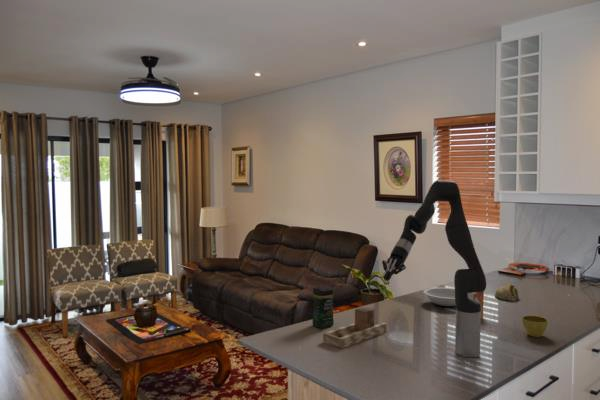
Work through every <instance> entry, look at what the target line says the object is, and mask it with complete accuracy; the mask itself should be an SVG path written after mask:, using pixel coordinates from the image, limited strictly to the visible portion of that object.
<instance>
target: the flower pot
mask: <svg viewBox="0 0 600 400" xmlns="http://www.w3.org/2000/svg"><path fill="white" fill-rule="evenodd" d="M521 319H522V324H523V326H524V327H523V328H524V329H525V332H526V333H527V335H528V336H530V337H534V338H540V337H542V336H543V335H544V333H545V332H546V329H547V326H548V322H549V320H548V319H547V318H545V317H543V316H542V317H541V316H536V315H524V316H522V317H521Z"/></svg>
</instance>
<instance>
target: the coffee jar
mask: <svg viewBox="0 0 600 400" xmlns="http://www.w3.org/2000/svg"><path fill="white" fill-rule="evenodd" d="M312 291H313V292H312V297H313V311H312V312H313V313H312V326H314V327H315V328H319V329H322V328H329V327H332V326H334V320H335V319H334V309H333V299H334V295H335V293H334V292H335V290H334V287H333V286H331V285H329V284H328V285H327V284H325V285H321V286H315V287H314V288H313V290H312Z"/></svg>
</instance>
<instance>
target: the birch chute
mask: <svg viewBox="0 0 600 400" xmlns="http://www.w3.org/2000/svg"><path fill="white" fill-rule="evenodd" d="M385 333H387V323H386V322H381V323H378V324H374V326H372V327H369V328H367V329H364V330H361V331H358V332H357V331H355V322H353V323H351V324H347V325H344V326H341V327H338V328H335V329H333V330H329V331H326V332H323V334H322V342H323V343H324V344H327V345H329V346H333V347H335V348H338V349H343V348H346V347H350V346H352V345H354V344H357V343H360V342H362V341H366V340H368V339H371V338H374V337H376V336H379V335H381V334H385Z"/></svg>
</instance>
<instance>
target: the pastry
mask: <svg viewBox="0 0 600 400" xmlns="http://www.w3.org/2000/svg"><path fill="white" fill-rule="evenodd" d="M494 297H495V298H496V299H499V300H502V301H507V302H516V301H518V300H519V298H520V295H519V291H518V289H517V288H516V286H515V285H513V284H509V285H505V286H504V285H503V286H501V287H497V289H496V291H495V294H494Z"/></svg>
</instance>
